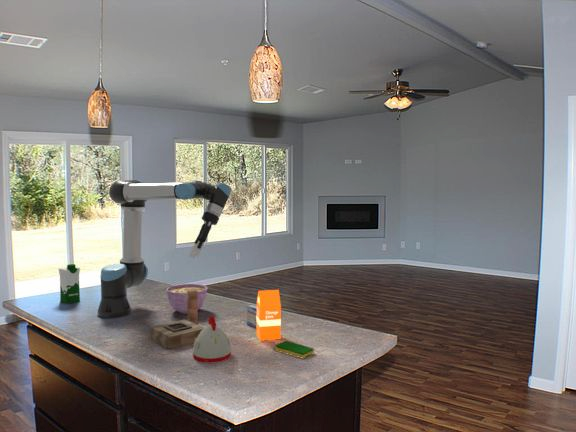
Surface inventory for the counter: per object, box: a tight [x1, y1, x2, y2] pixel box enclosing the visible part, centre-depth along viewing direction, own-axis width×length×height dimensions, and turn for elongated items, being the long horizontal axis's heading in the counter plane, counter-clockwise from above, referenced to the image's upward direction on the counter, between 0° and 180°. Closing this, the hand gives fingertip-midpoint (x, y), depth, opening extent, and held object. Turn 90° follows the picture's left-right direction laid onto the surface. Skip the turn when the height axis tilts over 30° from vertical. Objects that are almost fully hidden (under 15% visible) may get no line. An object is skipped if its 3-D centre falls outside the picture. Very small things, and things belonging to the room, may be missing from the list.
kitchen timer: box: [192, 315, 232, 364], centre depth 176 cm, size 14×14×15 cm
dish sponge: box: [274, 340, 315, 359], centre depth 182 cm, size 7×14×2 cm, turn 51°
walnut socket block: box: [150, 319, 205, 350], centre depth 194 cm, size 16×16×6 cm
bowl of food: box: [166, 283, 208, 315], centre depth 235 cm, size 20×20×12 cm
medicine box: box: [246, 304, 257, 329], centre depth 213 cm, size 8×4×9 cm, turn 47°
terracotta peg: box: [187, 290, 199, 325], centre depth 212 cm, size 4×4×16 cm
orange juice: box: [256, 289, 282, 342], centre depth 197 cm, size 8×9×20 cm
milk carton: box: [58, 263, 81, 305], centre depth 250 cm, size 9×9×20 cm
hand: (193, 256), depth 214 cm, fingers open, 13 cm apart
